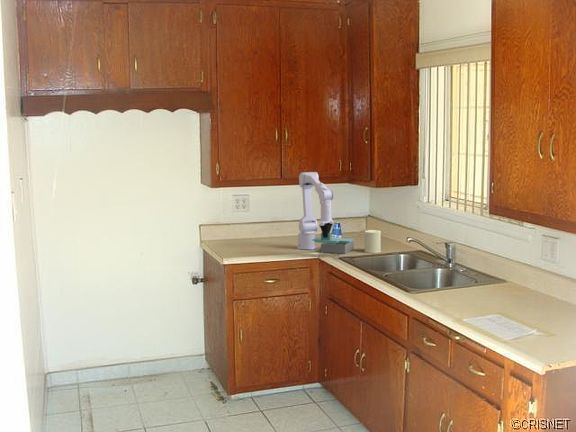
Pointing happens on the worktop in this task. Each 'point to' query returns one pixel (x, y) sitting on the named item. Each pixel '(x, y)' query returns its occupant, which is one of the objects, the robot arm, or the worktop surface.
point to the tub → (338, 246)
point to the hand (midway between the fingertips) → (326, 237)
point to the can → (372, 241)
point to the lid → (326, 239)
